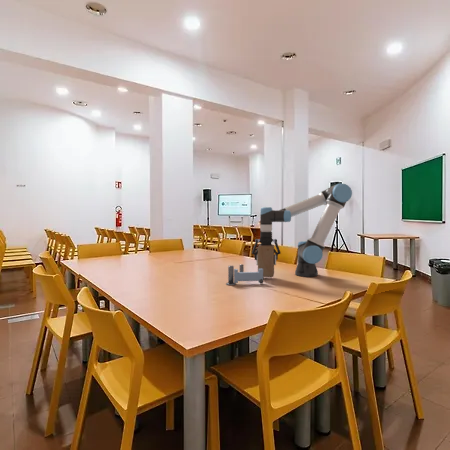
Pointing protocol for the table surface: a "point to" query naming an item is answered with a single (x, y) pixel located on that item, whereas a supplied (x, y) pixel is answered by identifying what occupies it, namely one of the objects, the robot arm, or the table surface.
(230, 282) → the gate posts
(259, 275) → the grey i-beam block
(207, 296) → the table surface
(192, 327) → the table surface
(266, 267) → the wooden block
